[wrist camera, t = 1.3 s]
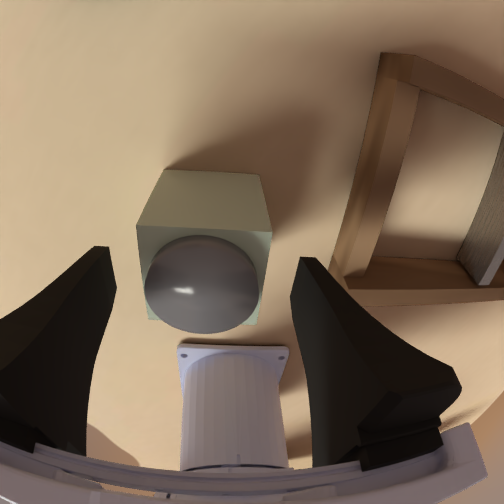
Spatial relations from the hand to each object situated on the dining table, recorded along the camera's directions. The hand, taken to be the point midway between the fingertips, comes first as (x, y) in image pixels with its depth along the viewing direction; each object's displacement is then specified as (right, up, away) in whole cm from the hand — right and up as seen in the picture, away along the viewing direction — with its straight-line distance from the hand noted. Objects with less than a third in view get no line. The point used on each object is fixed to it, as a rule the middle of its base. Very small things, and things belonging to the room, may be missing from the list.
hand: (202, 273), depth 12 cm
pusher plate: (+19, +4, +4) cm, 20 cm away
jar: (0, +3, +4) cm, 5 cm away
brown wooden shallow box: (+15, +4, +4) cm, 16 cm away
